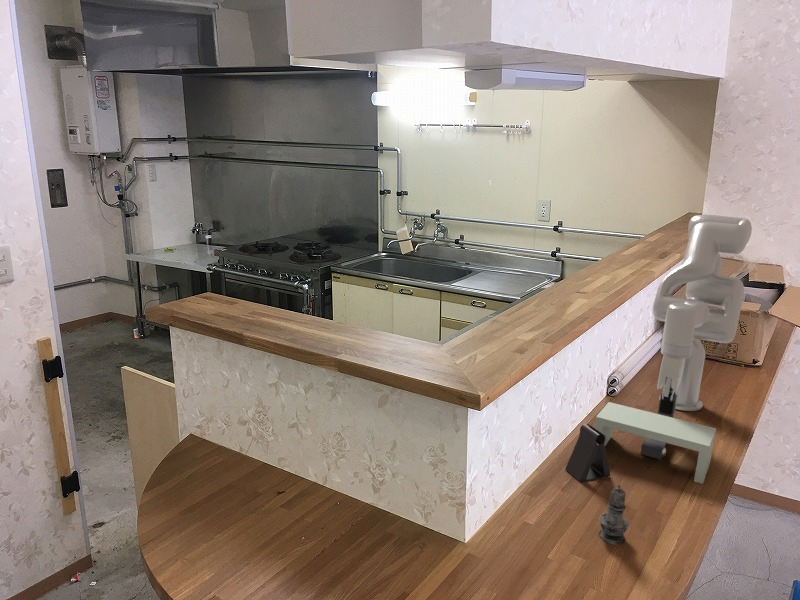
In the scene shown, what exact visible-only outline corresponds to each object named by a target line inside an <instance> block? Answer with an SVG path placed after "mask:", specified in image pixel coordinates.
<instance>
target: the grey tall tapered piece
mask: <svg viewBox="0 0 800 600" xmlns="http://www.w3.org/2000/svg"><path fill="white" fill-rule="evenodd" d="M625 500H626V491H625V490H624V488H623V489H622V488H621V485H620V484H618V485H617V487H613V488H611V490H610V494H609V501H607V503H606V505H607V513H603V514H601V515H600V516H599V518H598V519H599V523H600V527H601V530H600V531H599V532H598V537H599V538H600V539H601V540H602V541H603V542H605V543H607V544H610V545H615V546H617V545H619V546H620V545H622V544H625V542H626V537H625V535H624V534H626V532H627V530H628V529H629V527H630V523H629V521H628V520H627V519H626V518H625V517H624V511H625V510H626V505H625Z"/></svg>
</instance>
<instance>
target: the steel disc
mask: <svg viewBox="0 0 800 600" xmlns="http://www.w3.org/2000/svg"><path fill="white" fill-rule="evenodd" d="M666 453H667V448H666V446H665V447H664V449H663V451H662V457H661V458H663V457H665V456H666Z"/></svg>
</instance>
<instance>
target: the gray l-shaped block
mask: <svg viewBox="0 0 800 600" xmlns="http://www.w3.org/2000/svg"><path fill="white" fill-rule="evenodd" d="M662 393H663V391H662V392H661V393H660V395H661V396H660V395H659V397H660V400H659V405H658V410H657V414H660V415H664V416H668V417H672V418H675V413H676V409H675V408H676V401H677V395H675V394H674V396H673V401H674V403H673V410H672V414H671V415H669V414H665V413H661V412H660V411H659V410H660V404H661V398H662ZM669 394H670V393H669ZM666 445H667V443H665V442H662V441H658V440H654V439H650V438H647V437H644V440H643V441H642V444H641V449H640V455H643V456H646V457H650V458H653V459H657V460H662V458H663V457H662V451H663V449H664V447H665V448H666Z"/></svg>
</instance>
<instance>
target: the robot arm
mask: <svg viewBox="0 0 800 600" xmlns="http://www.w3.org/2000/svg"><path fill="white" fill-rule="evenodd" d="M687 227H688V228H687V229H688V230H687V232H688V242H687V245H686V250H685V253H684V256H683V259H682V264H681V265H679V266H678V267H675V268H674V269H672V270H671V271H670V272H669V273H668V274H666V275H665V276H664V277H663V279H662V280H661V282H660V283H659V285H658V288H657V291H656V295H655V298H654V301H653V305H652V306H653V307H652V315H653V317H654V318H655V319H656V320H657V321H660V322H664V326H663V334H662V340H661V345H660V346H661V347H660V353H661V354H662V355H663V357H662V360H661V364H660V369H659V375H658V380H657V385H656V389H657V390H658V391H659V390H662V392H663V393H662V392H661V393H662V398H661V404H660V410H659V411H660V412H661V413H665V414H669V415H671V414H672V410H673V403H674V401H673V396H674V394H675V395H677V401H676V408H675V410H679V411H683V412H684V411H685V412H696V411H700V410H702V409H703V405H704V404H703V402H702V400H700V399H699V395H700V390H701V383H702V379H703V378H702V377H703V372H704V365H705V360H706V350H705V347H704V345H703V344H702V342H701V340H702V341H703V340H704V341H709V342H715V343H720V344H729V343H731V342H733V341H734V339H735V336H736V334H737V329H738V325H739V319H740V315H741V311H742V310H741V309H742V304H743V300H744V294H745V293H744V291H745V287H744V283H743V281H742V280H741V279H739V278H737V277H734V276H727V275H721V270H722V266H723V258H722V256H721V254H720V253H723V254H731V255H738V254H739V255H740V254H741V253H742V252H743V251H745V249H746V246H747V244H748V243H749V241H750V238H751V235H752V231H753V227H752V222H751V221H750V220H749V219H748V218H745V217H737V216H736V217H735V216H728V215H726V216H725V215H716V214H698V215H694V216H692V217H691V218H690V220H689V222H688V226H687ZM684 284H686V286H685V287H686V288H685V297H682V296H678V295H677V296H676V295H669V294H670V292H671V291H672V290H673V289H674V288H676V287H679V286H680V285H684ZM709 306H711V307H720V308H721V309H722V310H720V309H713V308H709ZM662 388H663V389H662ZM669 393H670V394H669ZM660 396H661V394H659V398H658V400H659V401H660Z"/></svg>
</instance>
